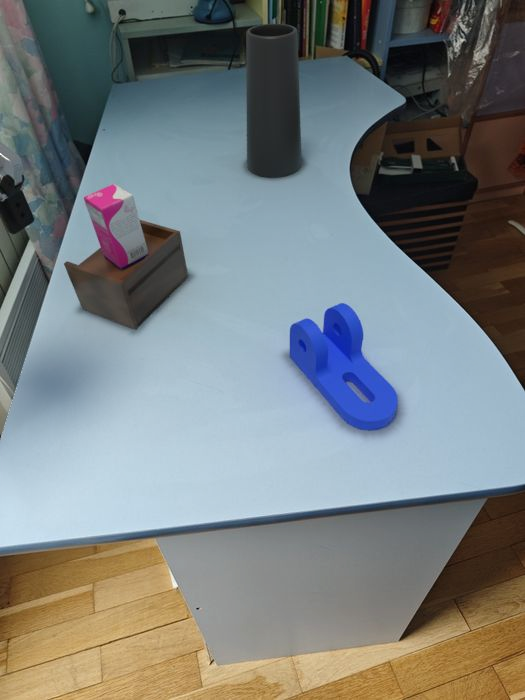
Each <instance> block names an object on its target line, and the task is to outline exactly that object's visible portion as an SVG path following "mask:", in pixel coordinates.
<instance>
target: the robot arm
mask: <svg viewBox="0 0 525 700" xmlns="http://www.w3.org/2000/svg"><path fill="white" fill-rule="evenodd" d="M0 175H1V176H2V177H1V180H0V218H1V220H2V222H3V224H4V226H5V228H6V230H7V233H9V234H11V235H17V234H18V233H20V232H21V231H22V230H24V229H25V228H27V227H29V226H31V224H33V223H34V222H35V217H34V214H33V213H32V210H31V208H30V205H29V202H28V201H27V198H26V195H25V194H24V191H23V190H24V189H25V185H24V182H25V180H26V178H25V175H24V164H23V159H22V158H21V156H20V155H18V154H17V153H16V152H14V151H13V150H12V149H11V148H10V147H8V146H6V145H5V144H4V142H3V140H2V138H1V137H0Z"/></svg>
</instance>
